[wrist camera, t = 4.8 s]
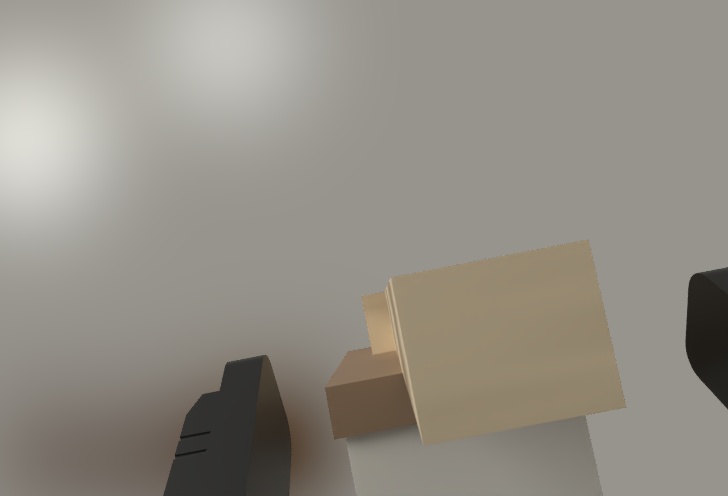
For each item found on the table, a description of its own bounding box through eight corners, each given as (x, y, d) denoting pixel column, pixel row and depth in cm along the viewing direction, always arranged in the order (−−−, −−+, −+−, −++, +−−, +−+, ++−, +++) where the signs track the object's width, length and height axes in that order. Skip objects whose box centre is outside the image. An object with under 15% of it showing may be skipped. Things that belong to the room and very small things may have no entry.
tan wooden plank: (374, 345, 31) (364, 296, 31) (472, 327, 31) (462, 278, 31) (356, 458, 9) (325, 290, 9) (694, 394, 9) (655, 227, 9)
